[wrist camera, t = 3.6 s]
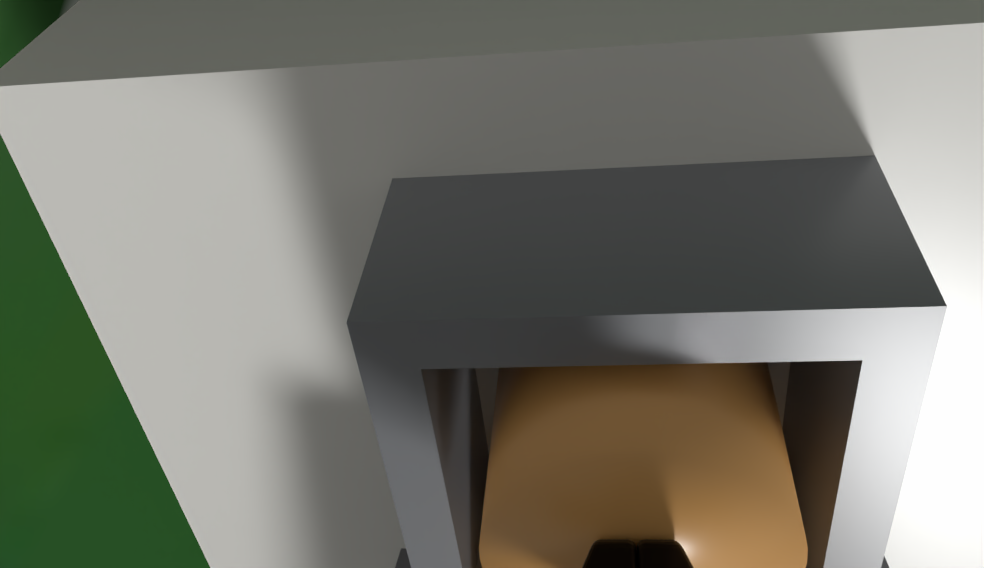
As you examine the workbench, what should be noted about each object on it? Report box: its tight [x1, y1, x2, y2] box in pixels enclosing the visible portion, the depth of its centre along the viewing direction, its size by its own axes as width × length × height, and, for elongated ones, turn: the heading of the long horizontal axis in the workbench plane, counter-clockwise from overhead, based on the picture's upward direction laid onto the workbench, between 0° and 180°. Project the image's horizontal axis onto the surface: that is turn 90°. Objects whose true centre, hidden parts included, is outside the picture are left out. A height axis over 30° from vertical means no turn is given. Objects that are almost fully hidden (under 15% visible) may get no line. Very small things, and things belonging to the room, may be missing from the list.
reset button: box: [479, 362, 808, 568], centre depth 10 cm, size 3×3×3 cm
